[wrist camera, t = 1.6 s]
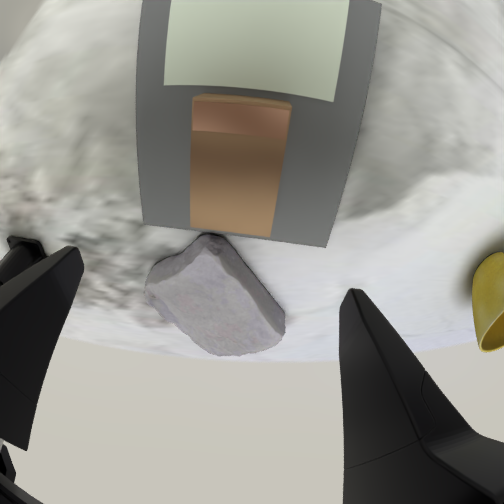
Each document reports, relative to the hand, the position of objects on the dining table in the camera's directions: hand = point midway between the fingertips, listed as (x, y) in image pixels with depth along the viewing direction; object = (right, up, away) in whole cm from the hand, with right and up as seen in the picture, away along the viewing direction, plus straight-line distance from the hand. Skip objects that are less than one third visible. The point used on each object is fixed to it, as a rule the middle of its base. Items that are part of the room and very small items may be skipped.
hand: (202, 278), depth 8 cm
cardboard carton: (+1, +7, +8) cm, 11 cm away
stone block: (-2, -3, +17) cm, 18 cm away
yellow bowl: (+27, -1, +13) cm, 30 cm away
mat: (+1, +9, +7) cm, 12 cm away
